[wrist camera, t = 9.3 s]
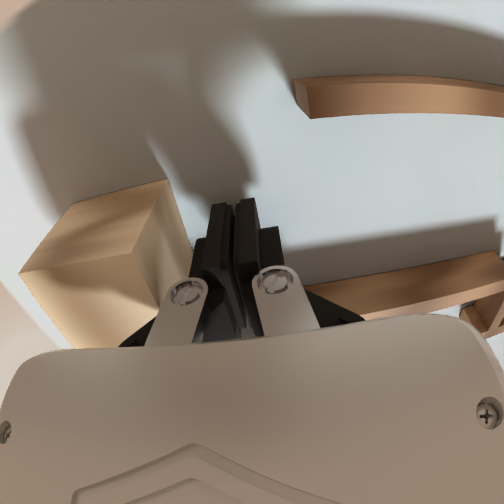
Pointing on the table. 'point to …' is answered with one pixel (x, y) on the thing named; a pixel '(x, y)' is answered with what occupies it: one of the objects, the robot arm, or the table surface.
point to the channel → (432, 275)
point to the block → (110, 264)
